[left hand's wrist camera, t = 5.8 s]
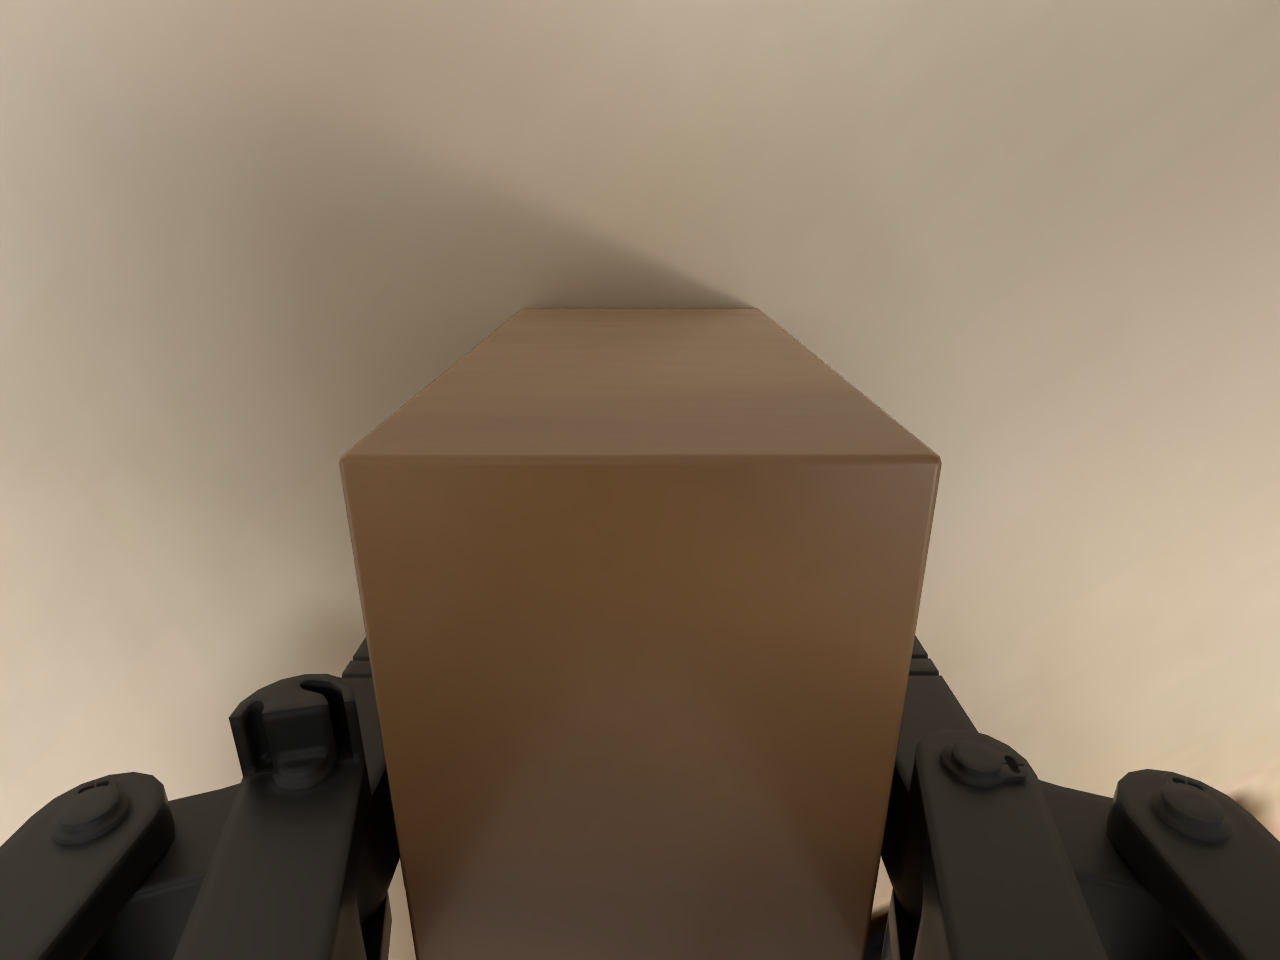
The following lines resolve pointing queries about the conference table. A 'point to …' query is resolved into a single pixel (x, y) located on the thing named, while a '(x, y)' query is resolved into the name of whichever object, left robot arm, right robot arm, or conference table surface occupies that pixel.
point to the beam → (640, 638)
